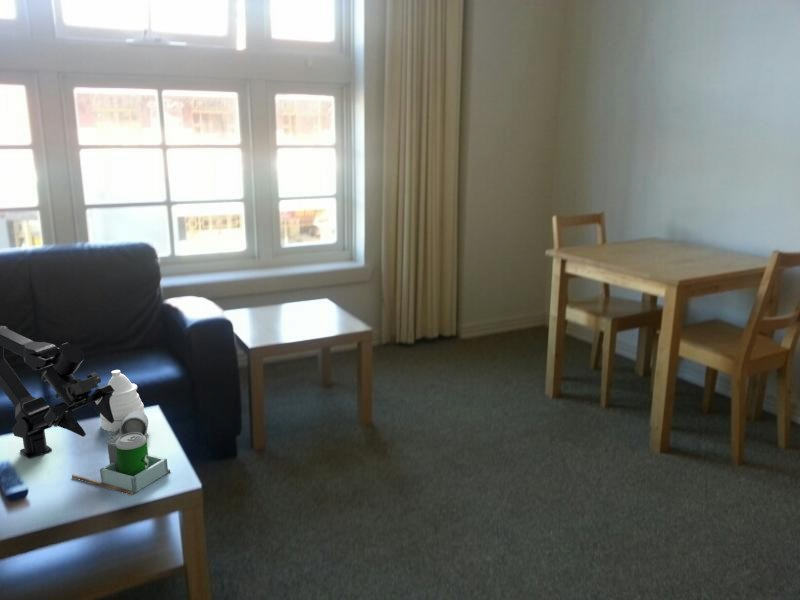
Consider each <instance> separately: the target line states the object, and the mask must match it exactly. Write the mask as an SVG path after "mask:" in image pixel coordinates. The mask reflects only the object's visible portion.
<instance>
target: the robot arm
mask: <svg viewBox="0 0 800 600" xmlns="http://www.w3.org/2000/svg"><path fill="white" fill-rule="evenodd" d="M5 349H6V350H8V351H9V352H12V353H15V354H16V355H17V356H20V357H21V358H23V361H24V364H26V365H27V366H28V367H30V368H31V369H32V370H33V371H39V370H41V369H44V368H47V369H46V370H44V371H42V372H41V374H42V375H41V378H40V379H41V383H45V382H48V383H49V385H50V386H51V387H52V389H53V390H54V392H56V394H55V395H54V396H55V398H56V399H57V400H58V399H61V400H62V402H60V403H57V404H56V405H53V406H50V405H48V403H47V402H46V400H45V399H44V398H43V397H42V396H39V397H37V398H36V397H34V396H32V395H31V393H30V392H29V390H28V388H26V386H25V385H24V384H23V382H22V380H21V379H20V378H19V377H18V375H17V373H16V372H15V370H14V369H13V368H12V367H11V366H10V364H9V362H8V361H7V360H6V359H5V356H4V354H5ZM85 358H86V354H85V352H84V350H83V349H81V348H79V347H78V346H76V345H70V343H69V342H65V343H62V344H61V345H60V346H59V347H57V345H55V344H54V343H49V342H45V341H33V340H32V339H29V338H28V337H25V336H23V335H21V334H20V333H17V332H15V331H13V330H11V329H9V328H8V326H7V325H0V388H1V389H2V390H3V393H5V395H6V396H7V398H8V399H9V400H10V402H11V403H12V405H13V406H14V408H15V410H14V411H15V412H14V413H15V414H14V418H15V420H16V422H15V424H14V426H13V427H12V429H11V430H12V434H13V435H14V437H17V438H21V439H22V442H23V443H22V444H23V449H20V450H19V453H21V454H22V455H23V456H25V458H27V459H30V458H33V457H37V456H40V455H43V454H45V453H46V454H47V453H49V452H52V451H53V449H52V447H50V446H49V445H47V437H46V432H45V431H46V430H47V429H51V428H52V426H53V427H54V428H57V427H59V428H62V429H65V430H67V431H70V432H72V433H73V434H76V435H79V436H81V437H82V438H83V437H85V436H86V435H87V434H86V432H85V430H84V428H83V427H82V425H80V423H79V422H78V421H77V419H76V418H75V417H74V416H75V415H74V411H75V410H77V409H80V408H82V407H85V406H87V405H89V404H92V405H94V406H95V407H94V408H95V410H97V412H98V413H99V414H100V413H101V414H102V415H103V416H104V417H105V418H106V419H107V420H108V421H109V422H110V423H113V422H114V418H113V415H112V411H111V408H110V398H111V396H112V393H113V392H114V391H115V390H114V389H113V388H112V386H111V385H108V384H104V385H102V386H99V385H98V384H100V383H102V379H101V377H100V375H99V374H98V373H97V372H92V373H90V374H88V375H87V376H86V379H84V380H82V379H81V378H79V377H78V378H76V377H75V376H74V375H73V374H74V373H75V372H77V370H78V369H79V367H80V365H81V364H82V363H83V361H84V359H85ZM93 389H95V390H94V392H93V391H92V390H93ZM92 392H93V393H92ZM91 393H92V395H90V394H91Z"/></svg>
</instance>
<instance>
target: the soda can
mask: <svg viewBox="0 0 800 600" xmlns="http://www.w3.org/2000/svg"><path fill="white" fill-rule="evenodd" d="M147 441H148V440H147V437H146V435H145V436H144V435H142V434H141V433H138V432H132V433H127V434H124V435H122V436H120V437H119V439H118V440H117V441H116V451H117V460H118V468H119V473H122V474H126V475H129V476H135V475H137V474H138V473H140V472H142V471H144V470H145V469H147V468H149V458H148V454H149V450H148V442H147Z"/></svg>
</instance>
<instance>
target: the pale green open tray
mask: <svg viewBox="0 0 800 600" xmlns="http://www.w3.org/2000/svg"><path fill="white" fill-rule="evenodd" d="M118 439H119V437H115V438H113V439H112V438H111V439H110V440H107V441H106V445H107V451H108V460H109V464H106V465H105V466H104V467H101V468H100V469H99V473H100V474H99V475H100V482H102V483H105V484H109V485H112V486H116V487H119V488H123V489H126V490H130V491H133V492H134V494H136V493H137V492H139V491H141V490H142V489H144V488H145V487H147V486H149V485H150V484H152V483H154V482H155V481H157V480H158V479H160V478H162V477H163V476H165V475H167V474H169V473H168V469H169V468H168V459H167V458H165V457H161V456H157V455H153V454H149V453H148V458H149V468H147V469H145V470H144V471H142V472H140V473H138V474H137V475H135V476H129V475H126V474H122V473H119V468H118V460H117V451H116V441H117V440H118Z"/></svg>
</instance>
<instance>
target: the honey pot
mask: <svg viewBox="0 0 800 600" xmlns="http://www.w3.org/2000/svg"><path fill="white" fill-rule="evenodd" d="M111 375H112V376H111V378H110V379H109V381H108V383H107V385H111V386H112V388H113V389H114V390H115V391H114V392H113V393H112V396H111V398H110V408H111V411H112V415H113V418H114V422H113V423H110V422H109V421H108V420H107V419H106V418H105V417H104V416H103V415H102V414H101V413H100V412H99V417H100V426H101V429H102V428H103V429H104V431H105V430H107V431H106V432H109V431H112V433H113V431H116V430H117V429H119V428H120V426H121V424H122V422H123V419H124V417H125V416H126V415H127V414H128V413H130V412H132V411H141V412H143V413H144V414H145V415H146V413H145V405H144V403H143V402H142V399H141V398H140V394H139V393H138V392H137V390H138V385H137V384H135V383H132V382H131V381H130V379H129V378H128V377H127V376H126V375H125V374H123V373H121V370H120V369H115V370H112V371H111ZM103 429H102V430H103Z"/></svg>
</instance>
